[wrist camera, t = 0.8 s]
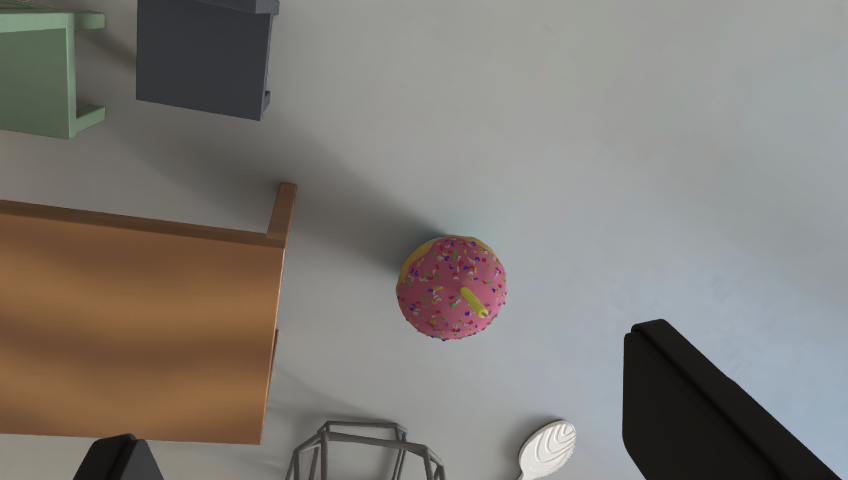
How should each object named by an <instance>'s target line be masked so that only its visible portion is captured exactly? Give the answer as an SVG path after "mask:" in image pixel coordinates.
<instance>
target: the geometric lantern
mask: <svg viewBox="0 0 848 480" xmlns="http://www.w3.org/2000/svg"><path fill="white" fill-rule="evenodd" d="M330 425H340V426H361V427H383V428H395V433H396V439H397V441H392V440H383V439H376V438H369V437H362V436H356V435H349V434H342V433H336V432H330ZM324 429H326V431H324ZM399 430H400V431H402V432H403V433H404V434H402V440H401V438H400V433H399ZM406 437H407V430H406V429H404V428H403V427H401V426H400V425H398V424H384V423H364V422H343V421H327V422H326V423H325V424H324V425H323V426H322V427H321V428H320V429H319V430H318V431H317V434H315V435H314V436H313V437H311V438H310V439H308V440H307V441H305V442H304V443H303V444H301V445H300V446H298V447H297V448H296V449H295V450H294V452H293V456H292V459H291V462H290V466H289V469H288V473H287V476H286V479H285V480H292V478H293V475H294V480H301V464H300V453H301V452H304V451H307V450H310V449H313V448H315V449H314V454H313V459H312V465H311V470H310V476H309V480H315V478H316V472H317V467H318V461H319V455H320V450H321V480H328V449H327V441H341V442H356V443H363V444H370V445H377V446H384V447H391V448H397V449H400V450H399V454H398V458H397V462H396V465H395V469H394V473H393V477H392V480H396V476H397V472H398V476H397V480H401V476H402V471H403V467H404V463H405V459H406V455H407V451H410V452H412V453H414V454H416V455H419V456H421V457H423V458H424V464H425V470H426V476H427V480H438V479H440V480H446V477H445V470H444V465H443V463H442V461H441V460H440V459H439V458H438V457H437V455H436V454H435V453H434V452H433V451H432V450H431V449H429V448H428V447H427V446H426V445H421V444H416V443H410V442H407V440H406ZM315 442H316V443H315ZM403 449H404V450H403ZM422 452H423V453H422ZM402 453H403V454H402ZM401 457H402V459H401ZM400 461H401V463H400ZM430 461H433V462H435V463H436V465H437V468H436V471H435V473H434V476H433V472H432V467H431V462H430ZM399 465H400V467H399ZM398 469H399V471H398Z"/></svg>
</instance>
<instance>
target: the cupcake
mask: <svg viewBox="0 0 848 480" xmlns="http://www.w3.org/2000/svg"><path fill="white" fill-rule="evenodd" d="M506 293H507V292H506V273H505V270H504V267H503V266H502V264H501V263H500V261H499V259H498V257H497V256H496V254H495V253H494V252H493V250H492V249H491V248H490V247H488V246H487V245H486V244H484V243H483V242H481V241H480V240H478V239H476V238H474V237H463V236H456V235H448V236H445V237H439V238H434V239H431V240H429V241H427V242H426V243H424V244H422V245H421V246H419V247H418V248H417V249H416V250H415V251H414V252H413V253H412V254H411V255H410V256H409V257H408V258H407V259H406V260H405V262H404V263H403V265H402V268H401V271H400V274H399V279H398V283H397V286H396V294H397V298H398V303H399V306H400V309H401V311H402V313H403V315H404V316H405V318H406V320H407V321H409V322H410V323H411V324H412V325H413V326H414V327H415V328H416V329H417V330H418V331H420V332H421V333H423V334H425V335H427V336H431V337H432V338H434V337H435V338H439V339H442V341H446V340H449V339H462V338H465V337H467V336H471V335H472V334H476V333H477V332H480V331H482V330H484V329H485V328H486V326H487V325H489V324H491V323H490V322H491V321H492V320H493V319H495V318H496V317H497V313H498V312H499V310H500V309H501V307H502V305H503V304H504V305H505V302H504V300H505V297H506ZM495 316H496V317H495ZM445 339H446V340H445Z"/></svg>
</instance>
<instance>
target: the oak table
mask: <svg viewBox="0 0 848 480" xmlns="http://www.w3.org/2000/svg"><path fill="white" fill-rule="evenodd" d="M296 190H297V185H295V184H288V183H281V184H280V188H279V191H278V195H277V198H276V202H275V205H274V209H273V213H272V216H271V220H270V223H269V227H268V230H267V234H264V233H257V232H249V231H241V230H233V229H225V228H218V227H210V226H202V225H194V224H187V223H179V222H171V221H163V220H155V219H148V218H140V217H132V216H124V215H117V214H109V213H101V212H93V211H85V210H78V209H70V208H62V207H54V206H46V205H39V204H31V203H23V202H15V201H8V200H0V433H2V434H25V435H48V436H71V437H93V438H108V437H113V436H117V435H122V434H127V433H132V434H133V435H134V436H135V437H136V439H144V440H162V441H185V442H208V443H231V444H253V445H260V444H261V439H262V433H263V427H264V421H265V414H266V408H267V402H268V396H269V389H270V383H271V377H272V370H273V364H274V358H275V352H276V345H277V339H278V331H279V330H277V329H276V322H277V314H278V306H279V298H280V290H281V282H282V274H283V266H284V258H285V253H286V247H287V242H288V236H289V231H290V225H291V220H292V215H293V209H294V204H295V198H296Z"/></svg>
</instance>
